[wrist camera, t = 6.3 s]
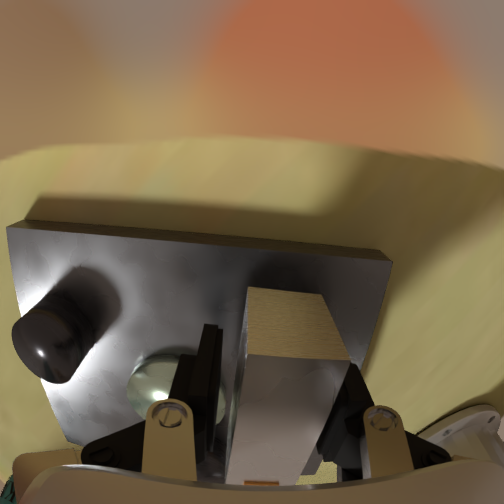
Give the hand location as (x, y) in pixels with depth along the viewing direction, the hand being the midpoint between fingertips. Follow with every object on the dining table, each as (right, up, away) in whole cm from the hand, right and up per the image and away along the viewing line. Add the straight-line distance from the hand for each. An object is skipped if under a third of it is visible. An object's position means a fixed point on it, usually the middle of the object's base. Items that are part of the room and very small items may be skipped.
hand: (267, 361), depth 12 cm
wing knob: (0, +1, +2) cm, 2 cm away
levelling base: (-4, -2, +4) cm, 7 cm away
